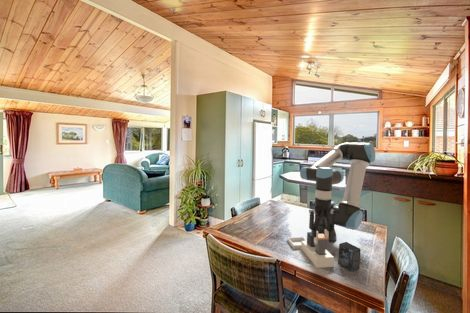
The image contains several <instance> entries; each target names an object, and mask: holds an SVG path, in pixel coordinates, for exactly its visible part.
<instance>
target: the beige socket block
mask: <svg viewBox="0 0 470 313" xmlns="http://www.w3.org/2000/svg"><path fill="white" fill-rule="evenodd" d="M300 250H301V251H302V252H303V253H304V254H305V255H306V256H307V258H308V259H309V260H310V261H311V262H312V265H313V266H314V267H315V268H316V269H320V268H321V269H322V268H334V265H335V264H334V263H335V257H334V256H333V255H336V253H335V252H333V251H332V252H330V251H328V249H325V255H318V254H317V253H316V247H310V246H309V245H308V243H307V241H301V249H300Z"/></svg>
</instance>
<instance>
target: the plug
mask: <svg viewBox="0 0 470 313" xmlns="http://www.w3.org/2000/svg"><path fill="white" fill-rule="evenodd" d="M314 246H315V247H316V253H317V254H318V255H325V249H326V250H328V247H329V242H328V237H327V236H326V235H324V234H318V244H317V245H316V244H315V243H314Z"/></svg>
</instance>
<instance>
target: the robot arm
mask: <svg viewBox="0 0 470 313" xmlns="http://www.w3.org/2000/svg"><path fill="white" fill-rule="evenodd" d="M342 160H343V161H348V163H349V164H350V167H349V170H348V171H349V172H348V177H347V180H346V185H345V189H344V193H343V196H342V201H339V203H338V205H336V201H333V200H332V192H333V185H338V184H340V183H342V182H343V180H344V179H345V177H344V173H343V172H342V171H341V170H340V169H335V168H334V169H333V168H332V166H334V164H336V163H338V162H341V161H342ZM375 160H376V150H375V146H374V145H373V143H370V142H369V143H368V142H343V143H340V144H338V145H337V144H336V145H335V146H334V147H332V148H330V149H329V150H328V152H327V153H326V154H325V155H323V156H322V157H321V158H320V159H318V160H317V161H315V162H314V163H313V164H311V165H310V166H303V167H301V169H300V170H299V176H300V178H301V179H302V180H306V181H311V182H315V192H314V195H315V198H314V208H312V209H309V210H308V213H309V220H308V222H309V225H308V228H309V229H310V230H311V232H312V230H313V237H314V243H315V244H316V245H317V244H318V234H324V235H326V236H327V237H328V243H330V242H334V241H336V240H337V233H336V229H335V226H338V227H342V228H345V229H348V230H353V231H354V230H357V229H358V228H359V227H361V224H362V222H363V218H364V217H363V216H364V212H363V211H362V210H361V209H362V208H361V206H360V205H359V202H360V199H361V194H362V189H363V185H364V180H365V175H366V171H367V168H368V167H370V166H371V163H374V162H375Z"/></svg>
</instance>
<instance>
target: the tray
mask: <svg viewBox="0 0 470 313" xmlns="http://www.w3.org/2000/svg"><path fill="white" fill-rule="evenodd" d="M286 238H287V239H286V241H287V242H288V244H289V245H290V247H291V248H292V249H294V250H302V249H301V241H307V238H305V237H304V236H296V237H295V236H293V237H292V236H291V237H286Z"/></svg>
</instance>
